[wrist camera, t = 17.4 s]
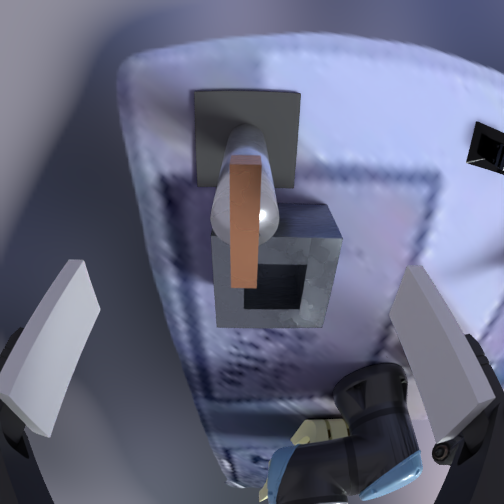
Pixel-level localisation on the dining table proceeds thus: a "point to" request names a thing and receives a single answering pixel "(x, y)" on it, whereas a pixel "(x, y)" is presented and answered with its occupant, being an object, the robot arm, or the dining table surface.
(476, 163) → the black notched block
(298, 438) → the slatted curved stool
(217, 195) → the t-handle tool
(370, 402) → the robot arm
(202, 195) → the dining table surface
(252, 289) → the block
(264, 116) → the rubber mat
